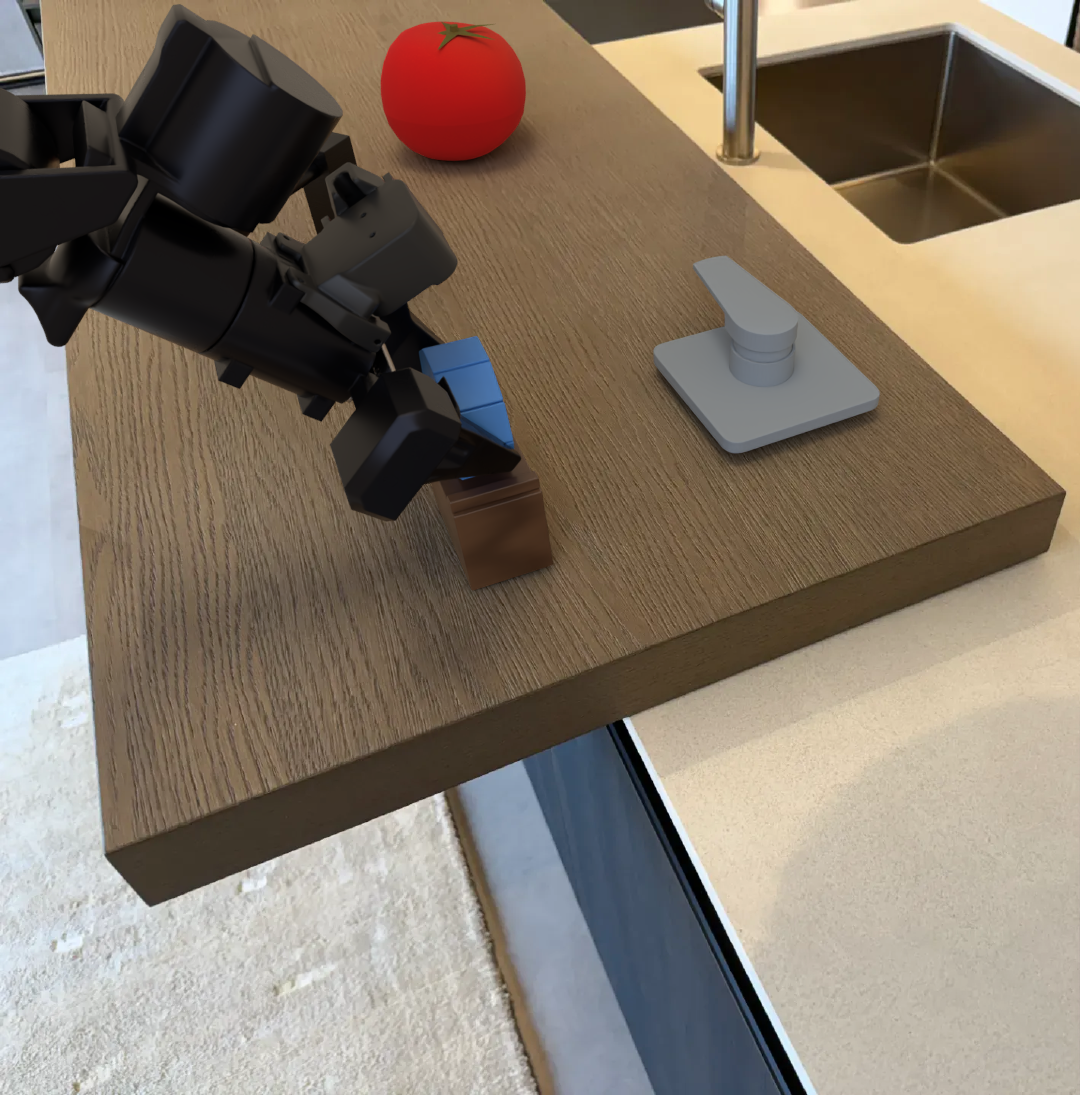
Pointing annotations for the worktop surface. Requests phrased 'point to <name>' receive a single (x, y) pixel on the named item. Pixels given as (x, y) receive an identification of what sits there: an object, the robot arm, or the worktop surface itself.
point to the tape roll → (470, 383)
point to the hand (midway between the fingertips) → (495, 421)
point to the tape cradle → (496, 523)
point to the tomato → (452, 90)
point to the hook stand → (323, 177)
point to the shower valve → (760, 366)
